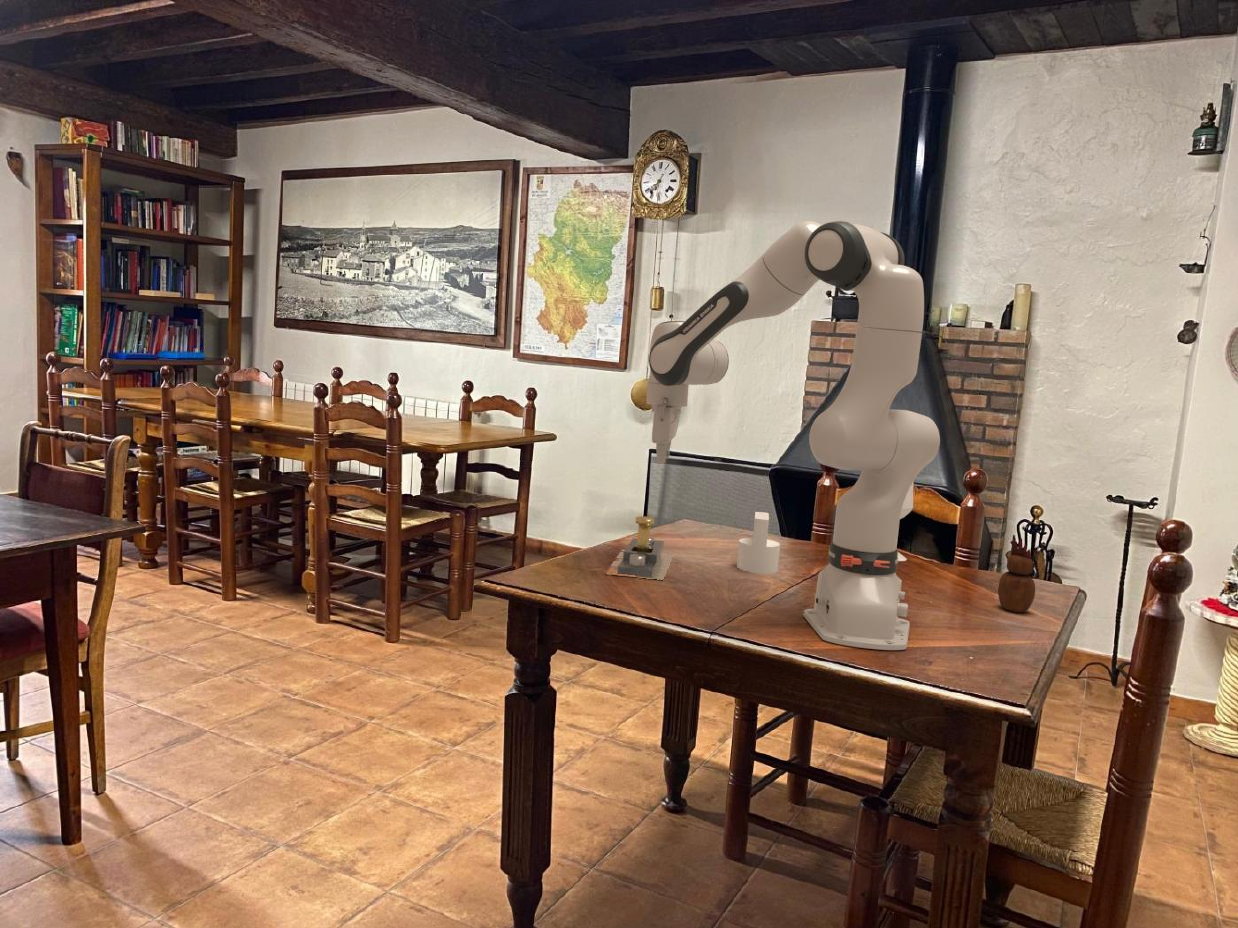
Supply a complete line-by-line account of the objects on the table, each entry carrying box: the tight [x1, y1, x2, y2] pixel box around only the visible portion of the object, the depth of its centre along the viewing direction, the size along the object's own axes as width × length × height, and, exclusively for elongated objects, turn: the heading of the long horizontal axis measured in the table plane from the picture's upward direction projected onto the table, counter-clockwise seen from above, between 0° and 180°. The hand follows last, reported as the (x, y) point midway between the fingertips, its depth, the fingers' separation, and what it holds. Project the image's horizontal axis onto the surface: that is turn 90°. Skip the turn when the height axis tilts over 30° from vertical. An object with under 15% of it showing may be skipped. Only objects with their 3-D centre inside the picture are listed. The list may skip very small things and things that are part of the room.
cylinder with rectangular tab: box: [736, 511, 781, 575], centre depth 199 cm, size 9×9×12 cm
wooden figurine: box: [997, 534, 1036, 613], centre depth 178 cm, size 7×6×15 cm
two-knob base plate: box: [610, 536, 675, 581], centre depth 195 cm, size 23×12×4 cm, turn 171°
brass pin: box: [635, 515, 655, 553], centre depth 195 cm, size 4×4×10 cm
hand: (662, 461), depth 195 cm, fingers open, 8 cm apart
